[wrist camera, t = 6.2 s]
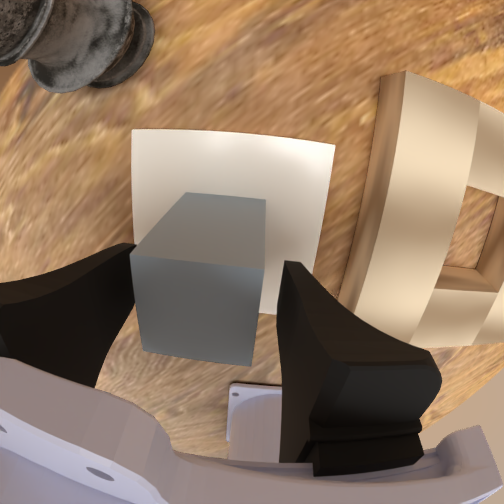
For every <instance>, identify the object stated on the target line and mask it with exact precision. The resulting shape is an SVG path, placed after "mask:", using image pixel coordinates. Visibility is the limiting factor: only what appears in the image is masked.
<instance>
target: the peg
mask: <svg viewBox="0 0 504 504" xmlns="http://www.w3.org/2000/svg"><path fill="white" fill-rule="evenodd" d="M265 219H266V200H265V199H256V198H246V197H236V196H225V195H214V194H202V193H190V192H186V193H185V194H184V195H183V196H182V197H181V198H180V199H179V200H178V201H177V202H176V203H175V204H174V205H173V206H172V207H171V208H170V210H169V211H168V212H167V213H166V214H165V215H164V216H163V217H162V218H161V219H160V220H159V221H158V223H157V224H156V225H155V226H154V227H153V228H152V229H151V230H150V231H149V233H148V234H147V235H146V236H145V237H144V238H143V239H142V240H141V242H140V243H139V244H138V245H137V246H136V247H135V249H134V250H133V251H132V252H131V253H130V263H131V272H132V281H133V289H134V297H135V304H136V311H137V317H138V324H139V330H140V336H141V341H142V347H143V351H147V352H152V353H157V354H163V355H169V356H174V357H181V358H187V359H194V360H200V361H208V362H215V363H223V364H232V365H241V366H251V365H252V358H253V351H254V344H255V337H256V330H257V322H258V315H259V308H260V300H261V293H262V286H263V278H264V270H265Z"/></svg>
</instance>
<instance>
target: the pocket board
mask: <svg viewBox="0 0 504 504" xmlns="http://www.w3.org/2000/svg"><path fill="white" fill-rule="evenodd" d="M467 185H468V186H471V187H474V188H477V189H480V190H483V191H486V192H489V193H492V194H495V195H498V196H499V198H498V202H497V206H496V210H495V213H494V217H493V220H492V223H491V227H490V230H489V233H488V236H487V239H486V242H485V245H484V248H483V251H482V254H481V256H480V259H479V262H478V264H477V267H476V269H468V268H460V267H452V266H443V263H444V260H445V258H446V255H447V252H448V249H449V246H450V243H451V240H452V237H453V233H454V230H455V227H456V224H457V220H458V217H459V213H460V209H461V206H462V202H463V198H464V194H465V190H466V186H467ZM337 301H338V302H339V303H341V304H342V305H343V306H344V307H345V308H347V309H348V310H349V311H351V312H352V313H353V314H355V315H356V316H357V317H359V318H360V319H362V320H363V321H365V322H367V323H368V324H370V325H372V326H373V327H375V328H377V329H378V330H380V331H382V332H384V333H386V334H388V335H390V336H392V337H394V338H396V339H398V340H401V341H403V342H405V343H408V344H411V345H413V346H416V347H419V348H437V347H456V346H471V345H483V344H494V343H503V342H504V113H502V112H500V111H499V110H497V109H495V108H493V107H491V106H489V105H487V104H485V103H483V102H481V101H479V100H477V99H475V98H473V97H471V96H469V95H467V94H464V93H462V92H460V91H458V90H455V89H453V88H451V87H448V86H446V85H443V84H441V83H439V82H436V81H433V80H431V79H428V78H425V77H423V76H420V75H417V74H414V73H411V72H408V71H402V72H398V73H394V74H390V75H386V76H382V77H381V81H380V91H379V99H378V108H377V115H376V123H375V130H374V136H373V143H372V149H371V155H370V161H369V167H368V172H367V178H366V183H365V188H364V193H363V198H362V203H361V208H360V212H359V217H358V221H357V226H356V230H355V234H354V239H353V243H352V247H351V251H350V255H349V259H348V263H347V267H346V271H345V274H344V278H343V282H342V285H341V289H340V293H339V296H338V300H337Z"/></svg>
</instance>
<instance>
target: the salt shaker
mask: <svg viewBox="0 0 504 504" xmlns="http://www.w3.org/2000/svg"><path fill="white" fill-rule="evenodd" d="M154 33H155V29H154V23H153V19H152V17H151V16H150V14H149V12H148V11H147V10H146V9H145V8H144V7H143V6H141V5H140V4H138V3H135V2H132V0H0V66H8V65H11V64H13V63H15V62H16V61H18V60H19V59H28V66H29V69H30V72H31V74H32V77H33V79H34V80H35V81H36V82H37V84H38V85H39V86H40V87H42V88H44V89H45V90H47V91H49V92H55V93H66V92H72V91H76V90H78V89H80V88H82V87H84V86H86V85H87V86H89V87H95V88H106V87H112V86H114V85H117V84H119V83H122V82H123V81H125V80H126V79H128V78H129V77H131V76H132V75H133V74H134V73H135V72H136V71H137V70H138V69H139V68H140V67H141V66H142V64H143V63H144V61H145V60H146V58H147V57H148V55H149V53H150V50H151V48H152V45H153V42H154Z"/></svg>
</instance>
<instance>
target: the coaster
mask: <svg viewBox="0 0 504 504" xmlns="http://www.w3.org/2000/svg"><path fill="white" fill-rule="evenodd" d="M334 151H335V145H334V144H329V143H323V142H316V141H310V140H303V139H296V138H288V137H280V136H271V135H262V134H252V133H241V132H228V131H212V130H190V129H132V153H131V173H132V210H133V229H134V243H135V244H137V245H138V244H139V243H140V242H141V240H142V239H143V238H144V237H145V236H146V235H147V234H148V233H149V231H150V230H151V229H152V228H153V227H154V226H155V225H156V224H157V223H158V221H159V220H160V219H161V218H162V217H163V216H164V215H165V214H166V213H167V212H168V211H169V210H170V208H171V207H172V206H173V205H174V204H175V203H176V202H177V201H178V200H179V199H180V198H181V197H182V196H183V195H184V194H185V193H186V192H190V193H202V194H214V195H225V196H236V197H246V198H256V199H265V200H266V219H265V270H264V278H263V286H262V293H261V300H260V308H259V313H265V314H276V315H277V301H278V296H279V290H280V284H281V278H282V272H283V265H284V260H288V261H297V262H301V263H302V264H303V265H304V266H305V267H306V269H307V270H308V271H309V272H310V273H311V274H312V272H313V267H314V262H315V258H316V253H317V248H318V243H319V238H320V233H321V227H322V222H323V217H324V211H325V206H326V200H327V194H328V189H329V183H330V177H331V170H332V164H333V157H334Z"/></svg>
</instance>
